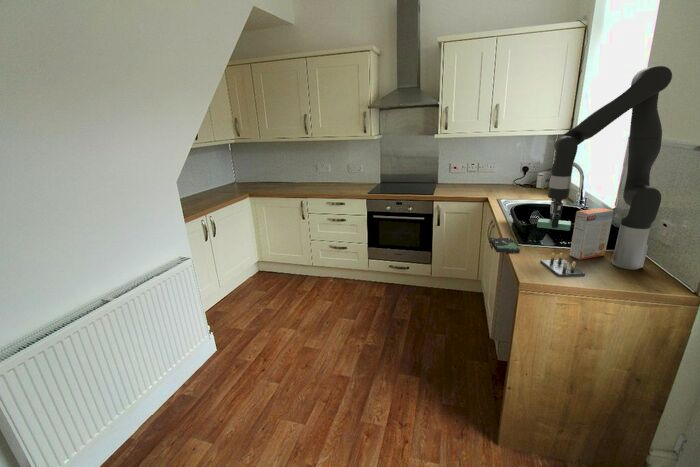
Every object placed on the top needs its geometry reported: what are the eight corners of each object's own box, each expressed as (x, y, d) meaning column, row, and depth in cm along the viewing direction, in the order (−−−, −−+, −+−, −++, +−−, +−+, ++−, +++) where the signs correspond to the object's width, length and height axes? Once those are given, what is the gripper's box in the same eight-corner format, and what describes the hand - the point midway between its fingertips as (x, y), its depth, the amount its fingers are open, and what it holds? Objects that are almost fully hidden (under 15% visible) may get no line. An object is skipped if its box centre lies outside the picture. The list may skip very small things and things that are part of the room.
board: (569, 227, 144) (570, 221, 143) (569, 230, 140) (570, 225, 139) (538, 223, 150) (538, 218, 149) (536, 227, 146) (537, 221, 145)
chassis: (564, 261, 145) (566, 250, 144) (584, 276, 132) (587, 264, 131) (540, 262, 146) (542, 251, 144) (558, 276, 133) (560, 264, 131)
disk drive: (488, 242, 172) (496, 253, 158) (489, 237, 171) (497, 247, 157) (510, 243, 171) (520, 253, 157) (511, 237, 170) (520, 248, 156)
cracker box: (592, 251, 155) (601, 207, 148) (605, 256, 149) (615, 210, 143) (567, 255, 152) (576, 210, 145) (579, 260, 146) (588, 213, 140)
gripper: (573, 190, 132) (566, 231, 137) (567, 183, 144) (561, 221, 149) (551, 189, 134) (545, 229, 140) (547, 183, 147) (541, 220, 152)
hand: (553, 225), depth 145 cm, fingers closed on board, 6 cm apart
